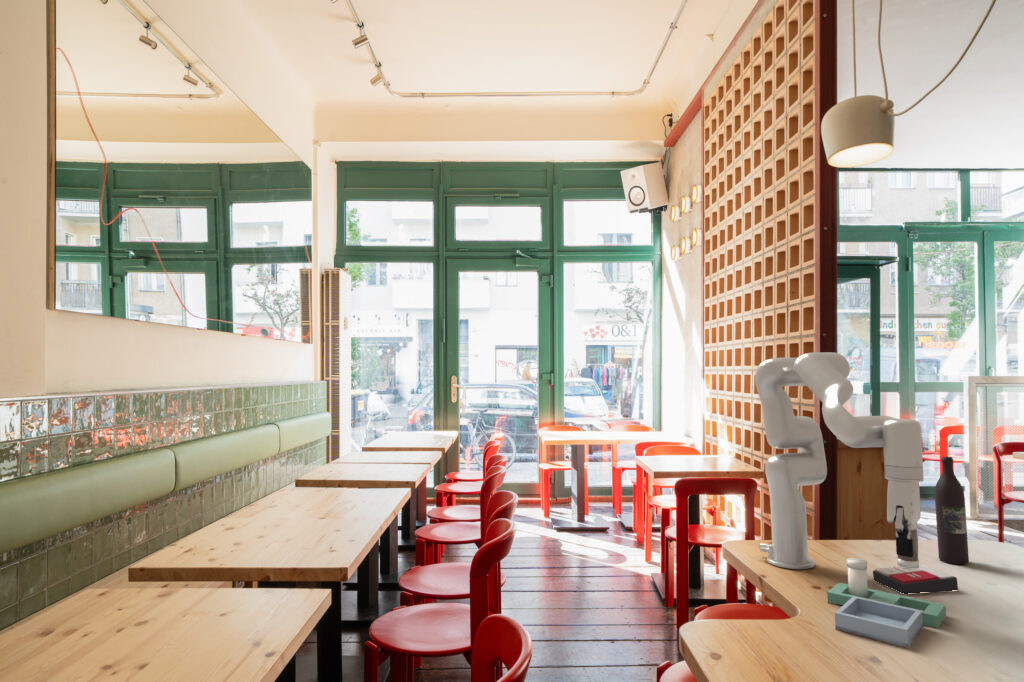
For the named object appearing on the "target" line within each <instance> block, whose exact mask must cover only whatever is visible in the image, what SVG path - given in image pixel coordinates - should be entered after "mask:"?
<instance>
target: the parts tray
mask: <svg viewBox="0 0 1024 682" xmlns="http://www.w3.org/2000/svg"><path fill="white" fill-rule="evenodd" d="M834 627H835V630H837V631H841V632H845V633H848V634H852V635H857V636H860V637H864V638H868V639H871V640H875V641H880V642H882V643H883V642H884V643H887V644H892V645H895V646H900V647H903V648H906V649H908V648H910V646H911V645H912V644H913V642H914V641H915V640H916V638H917V636H918V635H920V632H921V631H922V630H923V629H924V625H923V616H922V611H920V610H916V609H911V608H906V607H902V606H897V605H893V604H888V603H883V602H879V601H874V600H870V599H865V598H860V597H856V596H853V597H852V598H851V599H850V600H848V601H847V602H846V603H845V604H844V605H843V606H840V607H839V608H838V609H837V610H836V611H835V612H834Z"/></svg>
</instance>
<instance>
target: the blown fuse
mask: <svg viewBox="0 0 1024 682" xmlns="http://www.w3.org/2000/svg"><path fill="white" fill-rule="evenodd" d="M894 524H895V525H896V520H895V521H894ZM903 524H906V525H908V524H907V522H903ZM895 525H894V526H895ZM904 528H906V530H907V527H904ZM917 535H918V521H917V522H916V523H915V524H913V525H912V526H911V539H913V557H906V556H900V555H897V554H896V555H897V556H896V565H897V566H901V567H905V568H919V564H920V560H919V542H918V543H917Z"/></svg>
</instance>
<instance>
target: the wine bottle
mask: <svg viewBox="0 0 1024 682" xmlns="http://www.w3.org/2000/svg"><path fill="white" fill-rule="evenodd" d="M940 462H941V464H942V465H941V466H942V471H941V474H940V476H939V479H938V480H937V482H936V484H935V486H934V503H935V506H934V507H935V516H936V517H935V518H936V533H937V534H936V535H937V536H936V537H937V550H938V551H937V552H938V559H939V560H940V561H941V562H944V563H945V562H946V564H949V563H951V564H950V565H956V564H958V565H959V566H960V565H961V566H962V565H964V564H965V565H967V564H969V563H970V558H969V544H968V543H969V542H968V530H967V529H968V527H967V514H966V497H965V491H964V488H963V485H962V484H961V482H960V481H959V479H958V478H957V476H956V475H955V472H954V467H953V466H954V458H953V457H952V456H941V458H940ZM958 565H957V566H958Z"/></svg>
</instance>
